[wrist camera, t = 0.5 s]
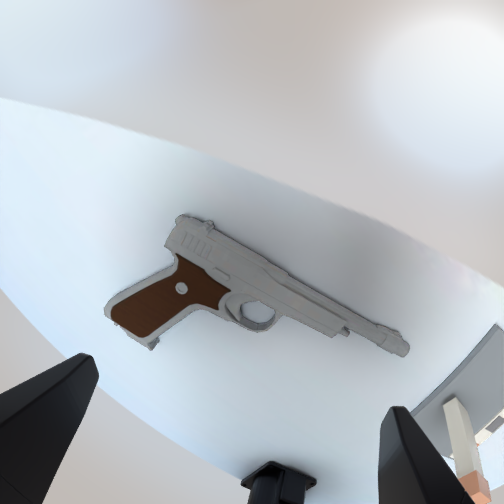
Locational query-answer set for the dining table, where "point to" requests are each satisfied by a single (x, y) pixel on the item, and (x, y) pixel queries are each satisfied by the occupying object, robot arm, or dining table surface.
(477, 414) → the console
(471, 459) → the lever
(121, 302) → the handgun
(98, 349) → the dining table surface
